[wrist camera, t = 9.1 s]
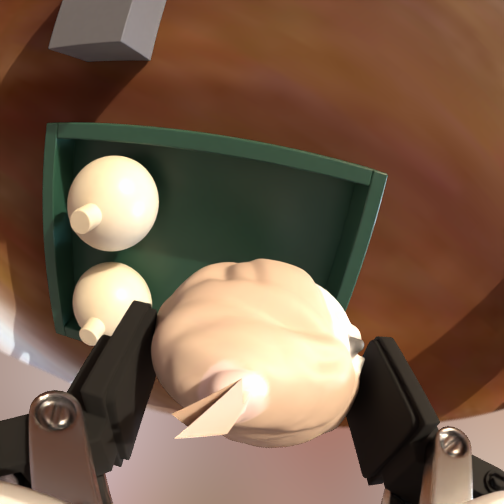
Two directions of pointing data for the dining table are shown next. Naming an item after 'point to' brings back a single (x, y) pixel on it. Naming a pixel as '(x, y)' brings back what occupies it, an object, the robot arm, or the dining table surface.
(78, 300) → the white bulb
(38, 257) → the dining table surface
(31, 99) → the dining table surface
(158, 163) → the green tray
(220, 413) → the garlic bulb
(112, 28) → the grey block
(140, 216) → the white bulb
